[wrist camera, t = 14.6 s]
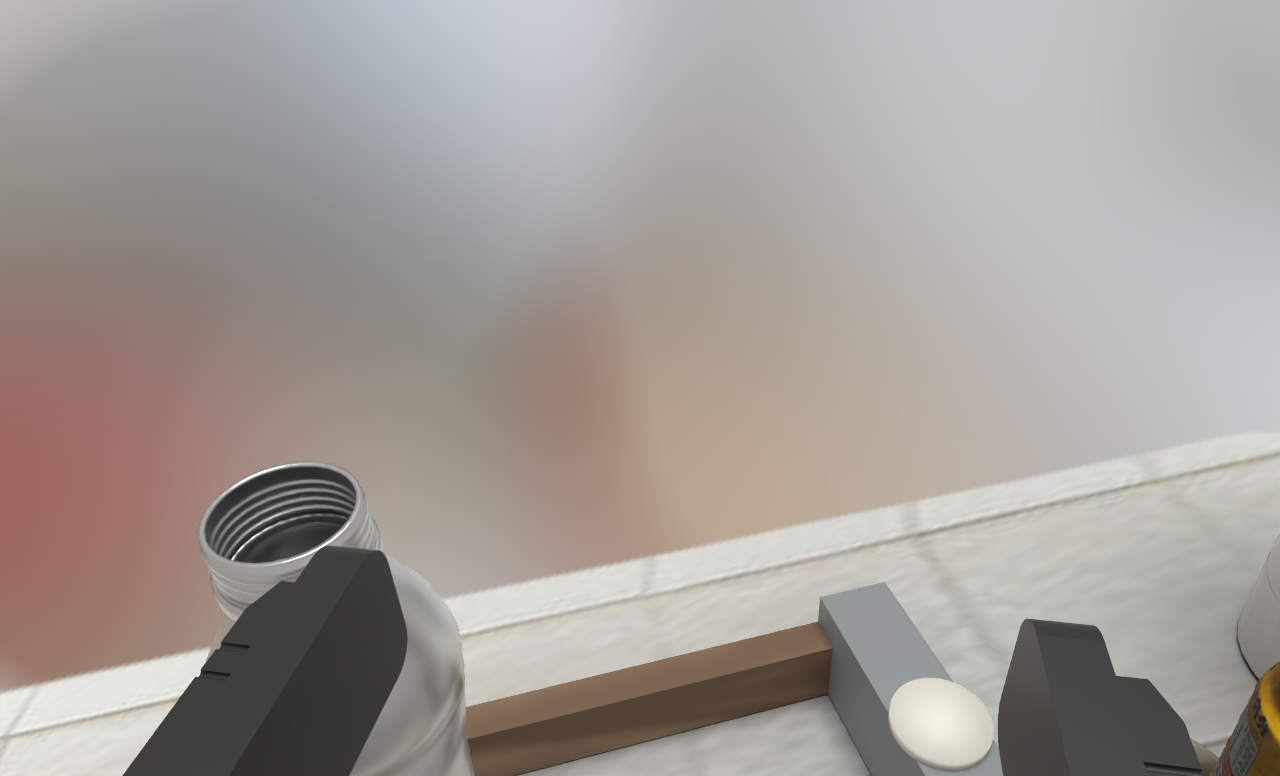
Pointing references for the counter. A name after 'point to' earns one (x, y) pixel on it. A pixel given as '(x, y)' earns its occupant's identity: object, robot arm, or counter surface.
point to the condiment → (1251, 736)
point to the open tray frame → (647, 701)
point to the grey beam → (901, 692)
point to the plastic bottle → (279, 551)
